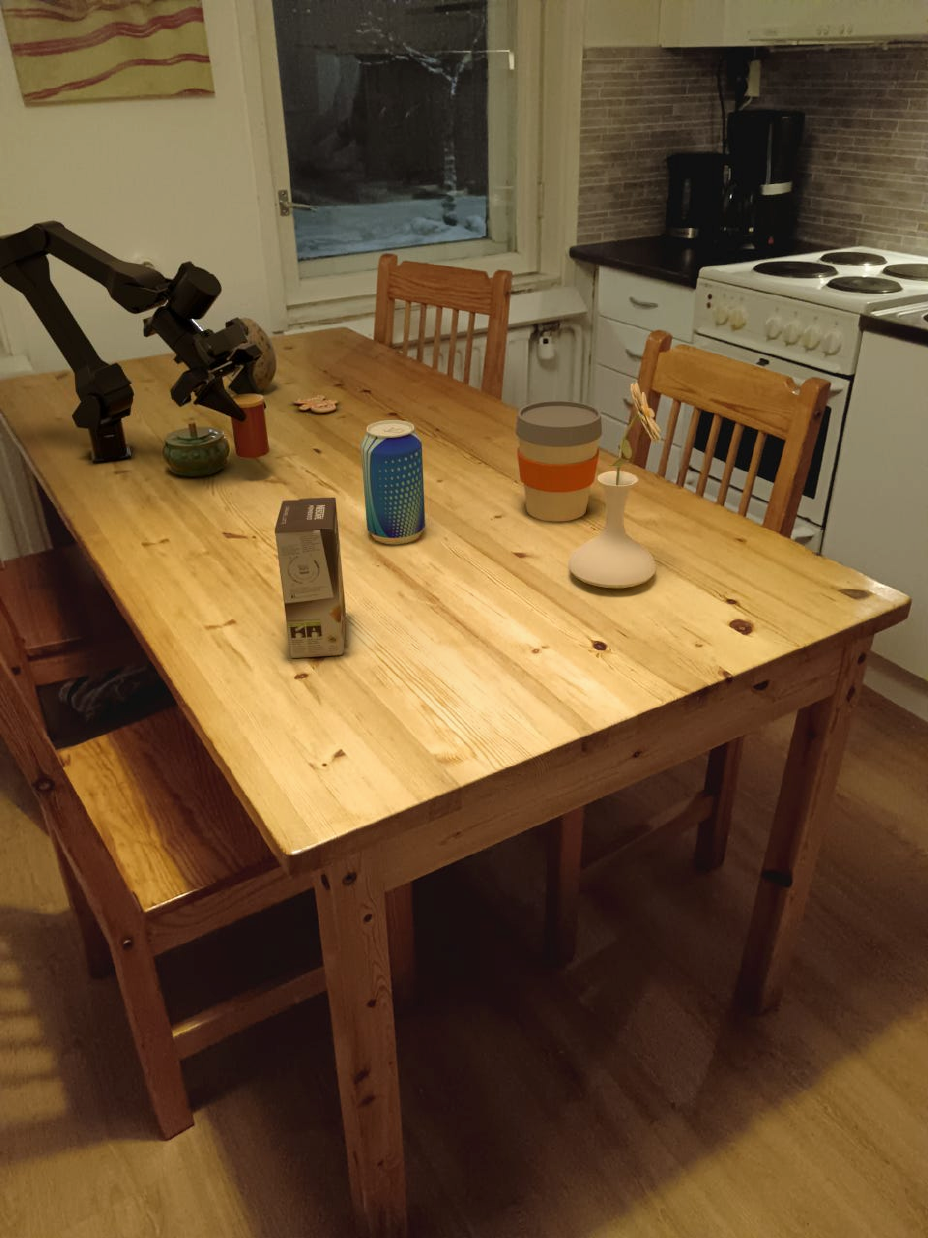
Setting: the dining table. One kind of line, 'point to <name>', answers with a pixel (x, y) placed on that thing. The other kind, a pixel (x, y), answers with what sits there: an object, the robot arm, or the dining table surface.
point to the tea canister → (250, 427)
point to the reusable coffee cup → (558, 457)
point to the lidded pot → (196, 451)
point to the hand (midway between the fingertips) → (254, 414)
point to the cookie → (317, 404)
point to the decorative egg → (267, 361)
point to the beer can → (393, 481)
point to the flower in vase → (617, 522)
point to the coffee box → (311, 576)
